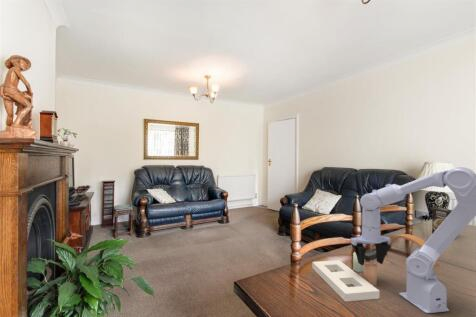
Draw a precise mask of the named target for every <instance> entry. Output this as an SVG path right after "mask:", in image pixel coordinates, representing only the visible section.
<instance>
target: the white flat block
mask: <svg viewBox="0 0 476 317" xmlns="http://www.w3.org/2000/svg"><path fill="white" fill-rule="evenodd" d="M311 265H312V266H311V268H312V269H313V270H314V271H315V272H316V273H317V274H318V276H319V277H321V278H322V279H323V281H325V282H326V284H327V285H328V286H329V287H330V288H331V289H332V290H333V291H334V292H335V293H336V294H337V295H338V296H339V297H340V298H341V299H342V300H343V301H344V302H346V303H347V302H357V301H367V300H377V299H378V300H379V299H380V290H379V289H378V288H377V287H375V286H373V285H371V284H370V283H369V282H367V281H366V280H365V279H364V277H362V276H361V275H359V274H358V273H357V272H356V271H354V270H353V268H352V269H351V267H349V266H348V265H346V264H345V263H344V262H342V261H341V260H340V259H337V260H335V259H334V260H324V261H322V260H321V261H319V260H318V261H312V264H311ZM348 285H353V286H348Z"/></svg>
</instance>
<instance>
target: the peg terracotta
mask: <svg viewBox="0 0 476 317" xmlns="http://www.w3.org/2000/svg"><path fill="white" fill-rule="evenodd" d="M377 272H378V265H377V264H375V263H374V262H370V261H364V272H363V279H365V280H366V281H367V282H369V283H370V284H371V285H373V286H374V287H375V286H377V285H378V284H377V283H378V273H377Z"/></svg>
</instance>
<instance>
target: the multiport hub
mask: <svg viewBox="0 0 476 317" xmlns="http://www.w3.org/2000/svg"><path fill="white" fill-rule="evenodd" d="M387 255H388V253H387V254H386V256H387ZM372 260H377V259H376V247H375V248H372V249H369V250H368V249H367V250H366V252H365V256H364V261H366V262H370V261H372Z"/></svg>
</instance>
